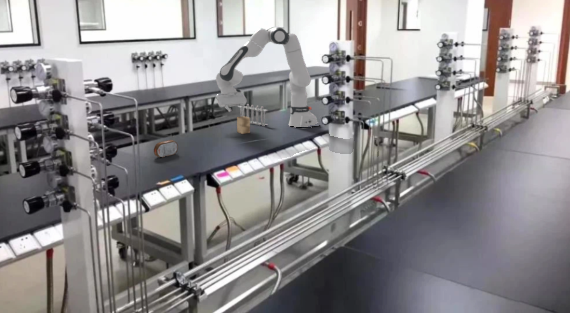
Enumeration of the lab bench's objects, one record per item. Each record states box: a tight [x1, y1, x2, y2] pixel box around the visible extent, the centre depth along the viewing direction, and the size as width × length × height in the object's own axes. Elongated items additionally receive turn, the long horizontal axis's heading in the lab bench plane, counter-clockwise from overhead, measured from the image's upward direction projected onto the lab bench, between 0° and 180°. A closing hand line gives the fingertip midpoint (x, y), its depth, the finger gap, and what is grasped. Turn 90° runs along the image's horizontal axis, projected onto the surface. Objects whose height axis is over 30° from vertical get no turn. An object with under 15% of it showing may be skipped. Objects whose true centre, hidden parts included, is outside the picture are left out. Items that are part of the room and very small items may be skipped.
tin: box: [153, 139, 179, 158], centre depth 281 cm, size 15×3×8 cm, turn 141°
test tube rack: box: [236, 103, 269, 127], centre depth 366 cm, size 25×4×13 cm, turn 53°
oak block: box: [236, 115, 251, 135], centre depth 334 cm, size 6×6×10 cm
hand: (236, 110), depth 339 cm, fingers open, 8 cm apart
